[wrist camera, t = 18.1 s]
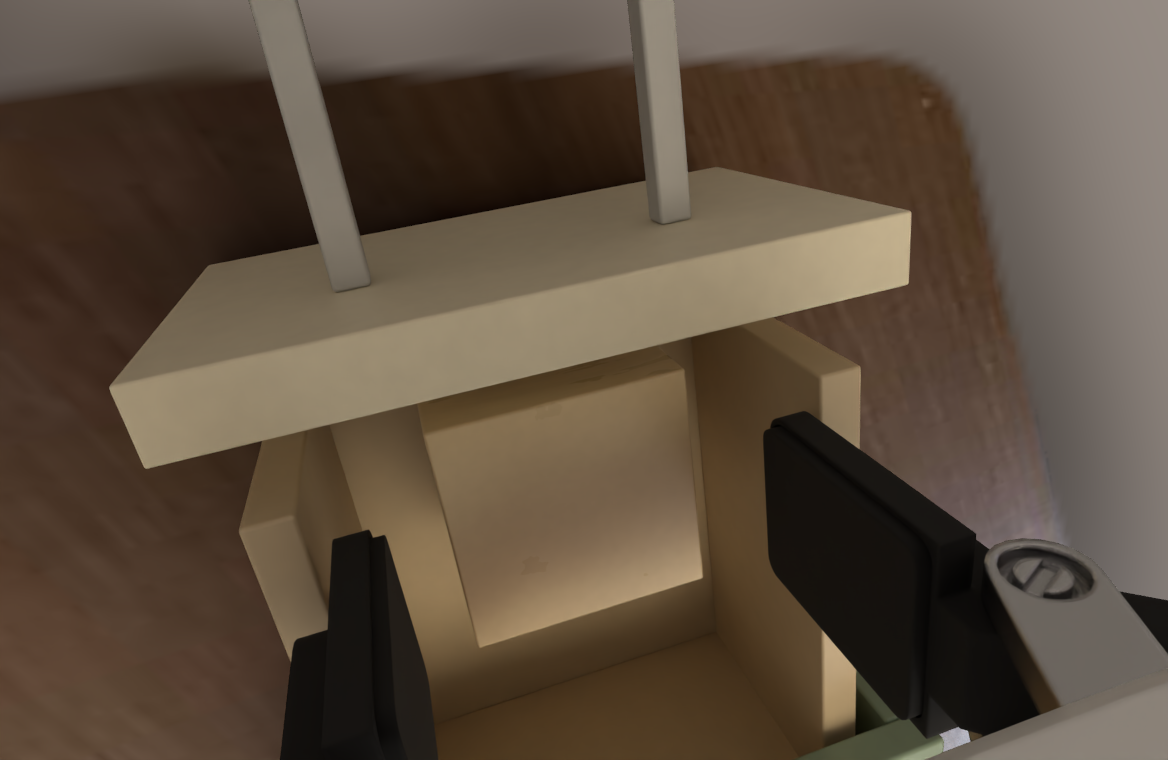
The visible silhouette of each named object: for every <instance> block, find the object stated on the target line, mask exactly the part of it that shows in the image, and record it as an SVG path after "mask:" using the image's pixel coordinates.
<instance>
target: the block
mask: <svg viewBox="0 0 1168 760" xmlns="http://www.w3.org/2000/svg"><path fill="white" fill-rule="evenodd" d="M417 407H418V412H419V417H420V423H421V428H422V433H423V438H424V442H425V446H426V449H427V453H428V457H429V461H430V465H431V469H432V473H433V476H434V480H435V484H436V488H437V492H438V496H439V500H440V503H441V507H442V511H443V515H444V519H445V523H446V527H447V530H448V534H449V538H450V542H451V546H452V550H453V554H454V558H455V561H456V565H457V569H458V573H459V577H460V581H461V585H462V588H463V592H464V596H465V600H466V604H467V608H468V612H469V615H470V619H471V623H472V627H473V631H474V635H475V639H476V642H477V646H478V647H479V648H482V647H485V646H488V645H491V644H495V643H498V642H501V641H504V640H507V639H511V638H514V637H517V636H520V635H523V634H527V633H530V632H533V631H536V630H539V629H542V628H546V627H549V626H552V625H555V624H558V623H562V622H565V621H568V620H571V619H574V618H578V617H581V616H584V615H587V614H590V613H593V612H597V611H600V610H603V609H606V608H609V607H613V606H616V605H619V604H622V603H625V602H629V601H632V600H635V599H638V598H641V597H645V596H648V595H651V594H654V593H657V592H660V591H664V590H667V589H670V588H673V587H676V586H680V585H683V584H686V583H689V582H692V581H696V580H699V579H702V578H703V568H702V557H701V546H700V535H699V524H698V513H697V502H696V491H695V480H694V469H693V458H692V447H691V436H690V425H689V414H688V403H687V391H686V380H685V371H684V369H683V368H682V367H681V366H680V365H679V364H677V363H676V362H675V361H674V360H673V359H672V358H670V357H669V356H668V355H667V354H666V353H665V352H664V351H662V350H661V349H660V348H659V347H658V346H657V345H656V346H652V347H648V348H644V349H640V350H636V351H631V352H627V353H623V354H619V355H615V356H611V357H607V358H602V359H598V360H594V361H590V362H586V363H582V364H578V365H574V366H569V367H565V368H561V369H557V370H553V371H549V372H545V373H540V374H536V375H532V376H528V377H524V378H520V379H516V380H512V381H507V382H503V383H499V384H495V385H491V386H487V387H483V388H479V389H474V390H470V391H466V392H462V393H458V394H454V395H450V396H445V397H441V398H437V399H433V400H429V401H425V402H421V403H417Z"/></svg>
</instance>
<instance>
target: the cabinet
mask: <svg viewBox="0 0 1168 760" xmlns="http://www.w3.org/2000/svg"><path fill="white" fill-rule="evenodd" d="M943 747H944V741H943V739H942V737H941V736H940V735H939V734H938V735H936V736H933V737H931V738H928V739H926V738H925V737H924V736H923V735H922V733H921V732H920V731H919V730H918V729H917V728H916V727H915V725H914V724H913V723H912V722H911V721H910V720H909V719H907V720H901V719H899V718H898V717H897V716H896V715H895V714H894V713H893V712H892V711H891V710H890V709H889V708H888V706H887V705H886V704H885V703H884V702H883V701H882V699H881V698H880V697H879V696H878V695H877V694H876V692H875V691H874V690H873V689H872V688H871V687H870V685H869V684H868V683H867V682H866V681H865V680H864V678H863V677H862V676H861V675H860V674H859V672H858V671H857V670H856V717H855V736H854V737H851V738H848V739H846V740H843V741H840V742H838V743H835V744H832V745H830V746H827V747H824V748H822V749H819V750H816V751H814V752H811V753H809V754H806V755H803V756H801V757H798V758H795V759H793V760H925V759H927V758H930V757H932V756H935V755H937V754H940V753H943Z"/></svg>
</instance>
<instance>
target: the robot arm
mask: <svg viewBox="0 0 1168 760" xmlns="http://www.w3.org/2000/svg"><path fill="white" fill-rule="evenodd" d="M763 451H764V472H765V494H766V516H767V538H768V556H769V561H770V565H771V567H772V570H773V572H774V573H775V575H776V576H777V578H778V579H779V580H780V581H781V582H782V584H783V585H784V586H785V587H786V588H787V589H788V591H789V592H790V593H791V594H792V595H793V596H794V598H795V599H796V600H797V601H798V602H799V603H800V605H801V606H802V607H803V608H804V609H805V610H806V612H807V613H808V614H809V615H810V616H811V617H812V619H813V620H814V621H815V622H816V623H817V624H818V626H819V627H820V628H821V629H822V630H823V632H824V633H825V634H826V635H827V636H828V637H829V639H830V640H831V641H832V642H833V643H834V644H835V646H836V647H837V648H838V649H839V650H840V651H841V653H842V654H843V655H844V656H845V657H846V658H847V660H848V661H849V662H850V663H851V664H852V665H853V667H854V668H855V669H856V670H857V671H858V672H859V674H860V675H861V676H862V677H863V678H864V680H865V681H866V682H867V683H868V684H869V685H870V687H871V688H872V689H873V690H874V691H875V692H876V694H877V695H878V696H879V697H880V698H881V699H882V701H883V702H884V703H885V704H886V705H887V706H888V708H889V709H890V710H891V711H892V712H893V713H894V714H895V715H896V716H897V717H898V718H899V719H901V720H907V719H909V720H910V721H911V722H912V723H913V724H914V725H915V727H916V728H917V729H918V730H919V731H920V732H921V733H922V735H923V736H924V737H925V738H926V739H928V738H931V737H933V736H936V735H938V734H941V733H944V732H946V731H949V730H951V729H954V728H956V727H959V728H960V729H964V730H967V731H968V732H969V737H970V740H971V742H969V743H966V744H963V745H961V746H958V747H956V748H953V749H950V750H948V751H945V752H943V753H940V754H937V755H935V756H932V757H930V758H927V759H925V760H1168V601H1167V600H1162V599H1156V598H1152V597H1146V596H1141V595H1135V594H1130V593H1124V592H1119V590H1118V589H1117V588H1116V586H1115V585H1114V584H1113V583H1112V581H1111V580H1110V579H1109V578H1108V576H1107V575H1106V574H1105V572H1104V571H1103V570H1102V569H1101V568H1100V567H1099V566H1098V565H1097V564H1096V563H1095V562H1094V561H1093V560H1092V559H1091V558H1089V557H1087V556H1085V555H1084V554H1082V553H1080V552H1079V551H1077V550H1075V549H1072V548H1070V547H1067V546H1064V545H1062V544H1059V543H1055V542H1050V541H1045V540H1040V539H1023V538H1022V539H1015V540H1007V541H1004V542H1002V543H999V544H997V545H994V546H993V547H992V548H991V549H990V550H989V549H988V548H987V547H985V546H984V545H983V544H981V543H980V542H979V541H977V540H976V533H974V532H973V531H971V530H970V529H969V528H967V527H966V526H965V525H963V524H962V523H960V522H959V521H958V520H956V519H955V518H954V517H952V516H951V515H949V514H948V513H947V512H945V511H944V510H943V509H941V508H940V507H938V506H937V505H936V504H934V503H933V502H931V501H930V500H929V499H927V498H926V497H925V496H923V495H922V494H920V493H919V492H918V491H916V490H915V489H914V488H912V487H911V486H909V485H908V484H907V483H905V482H904V481H903V480H901V479H900V478H898V477H897V476H896V475H894V474H893V473H891V472H890V471H889V470H887V469H886V468H885V467H883V466H882V465H880V464H879V463H878V462H876V461H875V460H874V459H872V458H871V457H869V456H868V455H867V454H865V453H864V452H863V451H861V450H860V449H858V448H857V447H856V446H854V445H853V444H851V443H850V442H849V441H847V440H846V439H845V438H843V437H842V436H840V435H839V434H838V433H836V432H835V431H834V430H832V429H831V428H829V427H828V426H827V425H825V424H824V423H823V422H821V421H820V420H818V419H817V418H816V417H814V416H813V415H811V414H810V413H808V412H806V411H801V412H798V413H794V414H790V415H787V416H783V417H779V418H776V419H774V420H773V421H772V422H771V425H770V429H767V430H765V431H764V434H763ZM280 760H438V752H437V744H436V736H435V727H434V719H433V711H432V703H431V695H430V687H429V681H428V676H427V671H426V667H425V664H424V660H423V657H422V653H421V650H420V647H419V643H418V640H417V637H416V634H415V630H414V627H413V624H412V620H411V617H410V614H409V610H408V607H407V604H406V600H405V597H404V594H403V590H402V587H401V584H400V580H399V577H398V574H397V571H396V567H395V564H394V561H393V557H392V554H391V551H390V547H389V544H388V541H387V538H386V536H385V535H382V536H378V537H374V538H373V536H372V534H371V532H370V530H365V531H361V532H358V533H354V534H350V535H347V536H343V537H339V538H336V539H333V541H332V553H331V572H330V591H329V610H328V629H327V630H325V631H322V632H318V633H315V634H311V635H308V636H305V637H301V638H298V639H296V641H295V642H294V645H293V650H292V658H291V667H290V676H289V685H288V694H287V702H286V711H285V720H284V729H283V738H282V747H281V756H280Z"/></svg>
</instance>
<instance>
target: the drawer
mask: <svg viewBox="0 0 1168 760" xmlns="http://www.w3.org/2000/svg"><path fill="white" fill-rule="evenodd" d="M627 2H628V11H629V21H630V31H631V40H632V51H633V60H634V70H635V80H636V89H637V99H638V109H639V119H640V128H641V138H642V148H643V158H644V167H645V177H646V181H641V182H636V183H631V184H626V185H621V186H615V187H610V188H605V189H600V190H595V191H590V192H584V193H579V194H574V195H569V196H564V197H559V198H553V199H548V200H543V201H538V202H533V203H528V204H522V205H517V206H512V207H507V208H502V209H497V210H491V211H486V212H481V213H476V214H471V215H466V216H460V217H455V218H450V219H445V220H440V221H435V222H429V223H424V224H419V225H414V226H409V227H404V228H398V229H393V230H388V231H383V232H378V233H373V234H367V235H362V236H360V234H359V230H358V226H357V222H356V219H355V215H354V211H353V207H352V204H351V200H350V196H349V192H348V189H347V185H346V181H345V177H344V174H343V170H342V166H341V162H340V158H339V155H338V151H337V147H336V143H335V140H334V136H333V132H332V128H331V125H330V121H329V117H328V113H327V109H326V106H325V102H324V98H323V94H322V91H321V87H320V83H319V79H318V76H317V72H316V68H315V64H314V61H313V57H312V53H311V49H310V45H309V42H308V38H307V34H306V31H305V27H304V23H303V19H302V16H301V12H300V8H299V4H298V1H297V0H249V4H250V7H251V11H252V14H253V18H254V21H255V25H256V28H257V32H258V35H259V38H260V42H261V45H262V49H263V52H264V56H265V59H266V63H267V66H268V69H269V73H270V76H271V80H272V83H273V87H274V90H275V94H276V97H277V101H278V104H279V107H280V111H281V114H282V118H283V121H284V125H285V128H286V132H287V135H288V138H289V142H290V145H291V149H292V152H293V156H294V159H295V163H296V166H297V170H298V173H299V176H300V180H301V183H302V187H303V190H304V194H305V197H306V201H307V204H308V208H309V211H310V214H311V218H312V221H313V225H314V228H315V232H316V235H317V239H318V242H319V244H316V245H311V246H306V247H300V248H295V249H290V250H285V251H280V252H275V253H269V254H264V255H259V256H254V257H249V258H244V259H238V260H233V261H228V262H223V263H218V264H213V265H209V266H207V268H206V269H205V270H204V271H203V273H202V274H201V275H200V276H199V277H198V279H197V280H196V281H195V282H194V284H193V285H192V286H191V287H190V288H189V290H188V291H187V292H186V293H185V295H184V296H183V297H182V298H181V299H180V301H179V302H178V303H177V304H176V306H175V307H174V308H173V309H172V310H171V312H170V313H169V314H168V315H167V317H166V318H165V319H164V320H163V321H162V323H161V324H160V325H159V326H158V328H157V329H156V330H155V331H154V332H153V334H152V335H151V336H150V337H149V339H148V340H147V341H146V342H145V343H144V345H143V346H142V347H141V348H140V350H139V351H138V352H137V353H136V354H135V356H134V357H133V358H132V359H131V361H130V362H129V363H128V364H127V366H126V367H125V368H124V369H123V370H122V372H121V373H120V374H119V375H118V377H117V378H116V379H115V380H114V381H113V383H112V384H111V385H110V387H109V389H110V392H111V394H112V396H113V398H114V401H115V403H116V405H117V408H118V410H119V412H120V414H121V417H122V419H123V421H124V423H125V426H126V428H127V430H128V432H129V435H130V437H131V439H132V441H133V444H134V446H135V448H136V450H137V453H138V455H139V457H140V459H141V462H142V464H143V466H144V467H145V468H147V469H148V468H152V467H156V466H160V465H165V464H169V463H173V462H177V461H181V460H185V459H189V458H193V457H198V456H202V455H206V454H210V453H214V452H218V451H222V450H227V449H231V448H235V447H239V446H243V445H247V444H251V443H255V442H260V441H262V444H261V448H260V452H259V455H258V459H257V463H256V467H255V471H254V474H253V478H252V482H251V486H250V490H249V493H248V497H247V501H246V505H245V509H244V512H243V516H242V520H241V524H240V528H239V534H240V536H241V539H242V541H243V544H244V546H245V549H246V551H247V554H248V556H249V559H250V561H251V564H252V566H253V569H254V571H255V574H256V576H257V579H258V581H259V584H260V586H261V589H262V591H263V594H264V597H265V599H266V602H267V604H268V607H269V609H270V612H271V614H272V617H273V619H274V622H275V624H276V627H277V629H278V632H279V634H280V637H281V639H282V642H283V644H284V647H285V649H286V652H287V654H288V657H289V659H290V662H291V658H292V650H293V645H294V642H295V641H296V639H298V638H301V637H305V636H308V635H311V634H315V633H318V632H322V631H325V630H327V629H328V610H329V591H330V572H331V553H332V541H333V539H336V538H339V537H343V536H347V535H350V534H354V533H358V532H361V531H365V530H370V532H371V534H372V536H373V538H374V537H378V536H382V535H385V536H386V538H387V541H388V544H389V547H390V551H391V554H392V557H393V561H394V564H395V567H396V571H397V574H398V577H399V580H400V584H401V587H402V590H403V594H404V597H405V600H406V604H407V607H408V610H409V614H410V617H411V620H412V624H413V627H414V630H415V634H416V637H417V640H418V643H419V647H420V650H421V653H422V657H423V660H424V664H425V667H426V671H427V676H428V681H429V687H430V695H431V703H432V711H433V719H434V727H435V736H436V744H437V752H438V760H793V759H795V758H798V757H801V756H803V755H806V754H809V753H811V752H814V751H816V750H819V749H822V748H824V747H827V746H830V745H832V744H835V743H838V742H840V741H843V740H846V739H848V738H851V737H854V736H855V717H856V669H855V668H854V667H853V665H852V664H851V663H850V662H849V661H848V660H847V658H846V657H845V656H844V655H843V654H842V653H841V651H840V650H839V649H838V648H837V647H836V646H835V644H834V643H833V642H832V641H831V640H830V639H829V637H828V636H827V635H826V634H825V633H824V632H823V630H822V629H821V628H820V627H819V626H818V624H817V623H816V622H815V621H814V620H813V619H812V617H811V616H810V615H809V614H808V613H807V612H806V610H805V609H804V608H803V607H802V606H801V605H800V603H799V602H798V601H797V600H796V599H795V598H794V596H793V595H792V594H791V593H790V592H789V591H788V589H787V588H786V587H785V586H784V585H783V584H782V582H781V581H780V580H779V579H778V578H777V576H776V575H775V573H774V572H773V570H772V567H771V565H770V561H769V556H768V538H767V516H766V494H765V472H764V451H763V434H764V431H765V430H767V429H770V425H771V422H772V421H773V420H774V419H776V418H779V417H783V416H787V415H790V414H794V413H798V412H801V411H806V412H808V413H810V414H811V415H813V416H814V417H816V418H817V419H818V420H820V421H821V422H823V423H824V424H825V425H827V426H828V427H829V428H831V429H832V430H834V431H835V432H836V433H838V434H839V435H840V436H842V437H843V438H845V439H846V440H847V441H849V442H850V443H851V444H853V445H854V446H856V447H857V448H858V449H860V385H861V368H860V366H859V365H857V364H855V363H854V362H852V361H850V360H848V359H846V358H845V357H843V356H841V355H839V354H837V353H836V352H834V351H832V350H830V349H828V348H827V347H825V346H823V345H821V344H820V343H818V342H816V341H814V340H812V339H811V338H809V337H807V336H805V335H803V334H802V333H800V332H798V331H796V330H794V329H793V328H791V327H789V326H787V325H786V324H784V323H782V322H780V321H778V320H777V319H775V318H773V317H776V316H780V315H784V314H788V313H792V312H797V311H801V310H805V309H809V308H813V307H817V306H821V305H826V304H830V303H834V302H838V301H842V300H846V299H850V298H854V297H859V296H863V295H867V294H871V293H875V292H879V291H883V290H888V289H892V288H896V287H900V286H904V285H907V284H908V282H909V259H910V235H911V211H908V210H904V209H900V208H895V207H891V206H887V205H882V204H878V203H873V202H869V201H865V200H860V199H856V198H851V197H847V196H843V195H838V194H834V193H830V192H825V191H821V190H816V189H812V188H808V187H803V186H799V185H794V184H790V183H786V182H781V181H777V180H773V179H768V178H764V177H759V176H755V175H751V174H746V173H742V172H737V171H733V170H729V169H724V168H720V167H714V168H708V169H703V170H698V171H693V172H688V168H687V156H686V143H685V131H684V118H683V105H682V93H681V80H680V68H679V55H678V44H677V31H676V18H675V6H674V0H627ZM656 345H657V346H658V347H659V348H660V349H661V350H662V351H664V352H665V353H666V354H667V355H668V356H669V357H670V358H672V359H673V360H674V361H675V362H676V363H677V364H679V365H680V366H681V367H682V368H683V369H684V371H685V380H686V391H687V403H688V414H689V425H690V436H691V447H692V458H693V469H694V480H695V491H696V502H697V513H698V524H699V535H700V546H701V557H702V568H703V578H702V579H699V580H696V581H692V582H689V583H686V584H683V585H680V586H676V587H673V588H670V589H667V590H664V591H660V592H657V593H654V594H651V595H648V596H645V597H641V598H638V599H635V600H632V601H629V602H625V603H622V604H619V605H616V606H613V607H609V608H606V609H603V610H600V611H597V612H593V613H590V614H587V615H584V616H581V617H578V618H574V619H571V620H568V621H565V622H562V623H558V624H555V625H552V626H549V627H546V628H542V629H539V630H536V631H533V632H530V633H527V634H523V635H520V636H517V637H514V638H511V639H507V640H504V641H501V642H498V643H495V644H491V645H488V646H485V647H482V648H479V647H478V646H477V642H476V639H475V635H474V631H473V627H472V623H471V619H470V615H469V612H468V608H467V604H466V600H465V596H464V592H463V588H462V585H461V581H460V577H459V573H458V569H457V565H456V561H455V558H454V554H453V550H452V546H451V542H450V538H449V534H448V530H447V527H446V523H445V519H444V515H443V511H442V507H441V503H440V500H439V496H438V492H437V488H436V484H435V480H434V476H433V473H432V469H431V465H430V461H429V457H428V453H427V449H426V446H425V442H424V438H423V433H422V428H421V423H420V417H419V412H418V407H417V403H421V402H425V401H429V400H433V399H437V398H441V397H445V396H450V395H454V394H458V393H462V392H466V391H470V390H474V389H479V388H483V387H487V386H491V385H495V384H499V383H503V382H507V381H512V380H516V379H520V378H524V377H528V376H532V375H536V374H540V373H545V372H549V371H553V370H557V369H561V368H565V367H569V366H574V365H578V364H582V363H586V362H590V361H594V360H598V359H602V358H607V357H611V356H615V355H619V354H623V353H627V352H631V351H636V350H640V349H644V348H648V347H652V346H656Z"/></svg>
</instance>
